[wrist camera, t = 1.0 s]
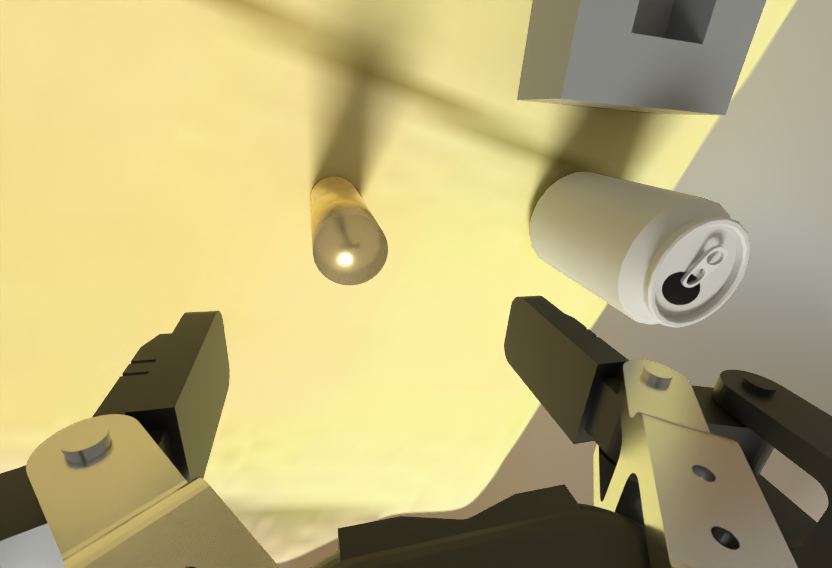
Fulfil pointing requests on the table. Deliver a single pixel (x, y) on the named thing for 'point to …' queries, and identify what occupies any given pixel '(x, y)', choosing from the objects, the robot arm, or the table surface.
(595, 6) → the socket
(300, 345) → the table surface
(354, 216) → the peg
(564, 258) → the can
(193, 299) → the table surface
